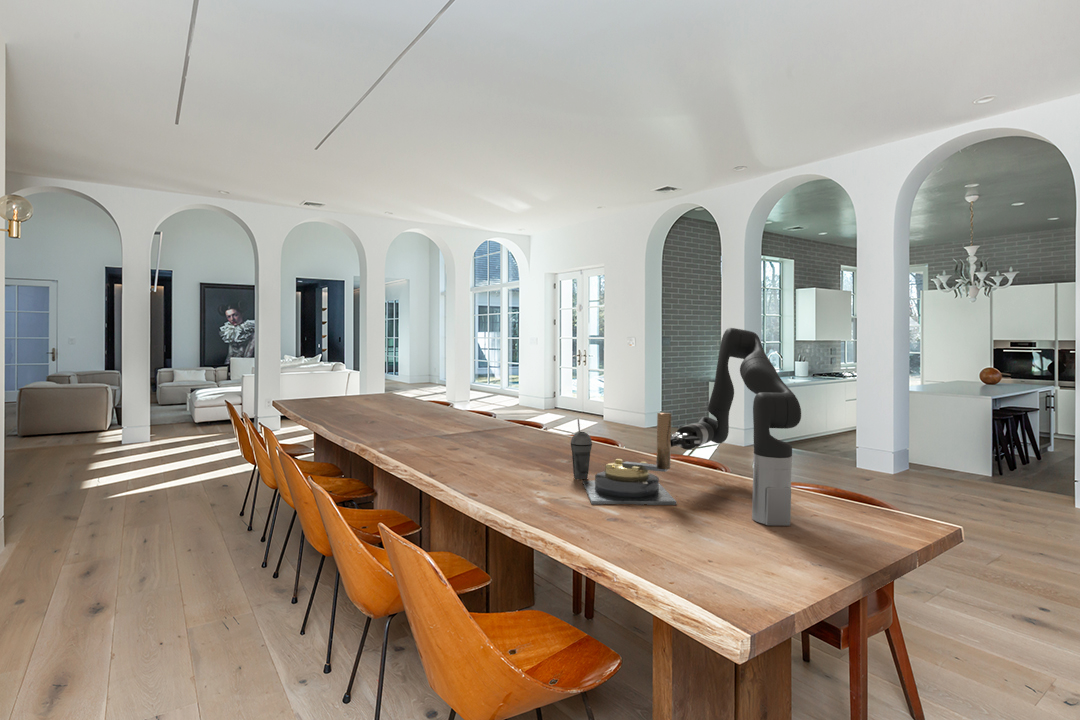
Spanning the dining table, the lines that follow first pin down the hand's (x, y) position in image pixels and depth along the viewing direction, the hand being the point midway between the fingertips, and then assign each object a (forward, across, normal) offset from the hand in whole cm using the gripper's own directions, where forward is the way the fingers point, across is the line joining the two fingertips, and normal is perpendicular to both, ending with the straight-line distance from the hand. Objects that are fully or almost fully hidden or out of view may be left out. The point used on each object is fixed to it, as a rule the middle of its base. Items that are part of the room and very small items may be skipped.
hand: (668, 443), depth 173 cm
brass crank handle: (+4, -8, +11) cm, 14 cm away
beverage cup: (-3, -33, +16) cm, 37 cm away
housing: (+4, -11, +16) cm, 20 cm away
